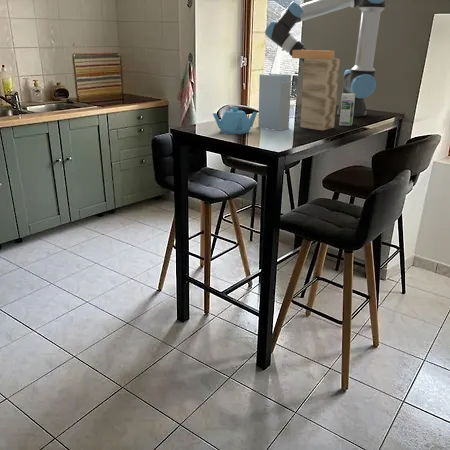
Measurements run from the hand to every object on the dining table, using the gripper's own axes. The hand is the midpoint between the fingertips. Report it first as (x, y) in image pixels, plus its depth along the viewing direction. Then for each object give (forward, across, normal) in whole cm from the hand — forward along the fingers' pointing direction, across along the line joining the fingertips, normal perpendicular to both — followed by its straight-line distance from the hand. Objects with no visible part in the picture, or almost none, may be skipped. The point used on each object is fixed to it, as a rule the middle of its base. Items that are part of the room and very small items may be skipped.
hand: (327, 74), depth 221 cm
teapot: (-14, +25, -49) cm, 57 cm away
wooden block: (+12, +10, -23) cm, 28 cm away
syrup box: (+22, +2, -13) cm, 26 cm away
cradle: (-3, +14, -36) cm, 39 cm away
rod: (-9, +15, -2) cm, 18 cm away
